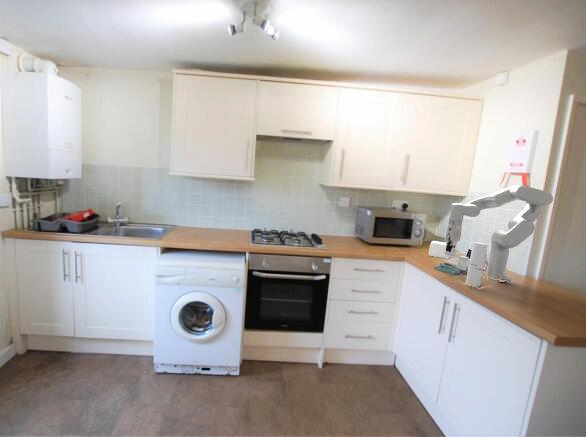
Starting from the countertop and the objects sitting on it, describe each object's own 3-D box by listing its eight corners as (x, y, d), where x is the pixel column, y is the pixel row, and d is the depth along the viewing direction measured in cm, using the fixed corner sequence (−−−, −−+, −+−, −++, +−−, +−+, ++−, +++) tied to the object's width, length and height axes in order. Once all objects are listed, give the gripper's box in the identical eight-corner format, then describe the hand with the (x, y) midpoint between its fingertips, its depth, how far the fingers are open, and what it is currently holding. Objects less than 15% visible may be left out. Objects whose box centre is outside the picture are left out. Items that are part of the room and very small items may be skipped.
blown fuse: (454, 255, 191) (456, 240, 190) (450, 256, 189) (453, 240, 187) (447, 253, 194) (450, 238, 193) (444, 254, 192) (447, 239, 191)
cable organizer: (426, 256, 233) (429, 241, 231) (429, 254, 241) (431, 239, 240) (448, 260, 225) (450, 245, 223) (450, 258, 233) (452, 243, 231)
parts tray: (459, 274, 191) (460, 270, 191) (452, 276, 186) (453, 271, 186) (441, 268, 201) (442, 264, 200) (434, 270, 196) (434, 265, 195)
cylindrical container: (466, 282, 177) (474, 241, 173) (480, 285, 173) (488, 243, 169) (464, 285, 172) (472, 242, 168) (478, 288, 167) (487, 245, 163)
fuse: (465, 272, 194) (468, 257, 193) (462, 273, 192) (465, 257, 190) (459, 270, 197) (462, 255, 196) (456, 271, 195) (459, 256, 194)
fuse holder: (469, 274, 194) (470, 269, 194) (463, 275, 190) (464, 271, 189) (445, 266, 207) (445, 262, 207) (438, 267, 203) (439, 263, 202)
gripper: (454, 224, 181) (448, 253, 184) (467, 223, 190) (462, 251, 193) (442, 221, 187) (437, 250, 190) (456, 221, 196) (451, 248, 199)
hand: (450, 250), depth 191 cm, fingers closed on blown fuse, 3 cm apart
